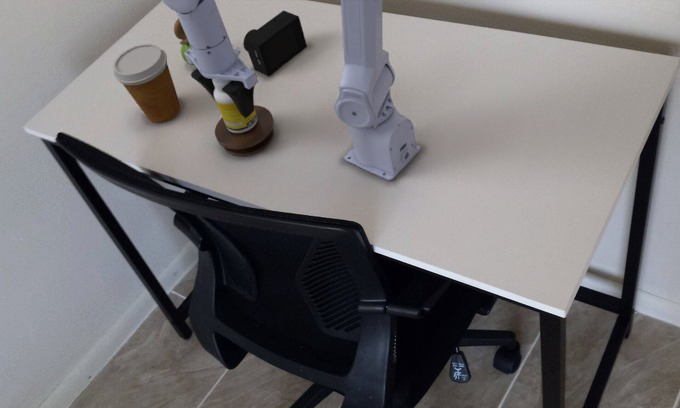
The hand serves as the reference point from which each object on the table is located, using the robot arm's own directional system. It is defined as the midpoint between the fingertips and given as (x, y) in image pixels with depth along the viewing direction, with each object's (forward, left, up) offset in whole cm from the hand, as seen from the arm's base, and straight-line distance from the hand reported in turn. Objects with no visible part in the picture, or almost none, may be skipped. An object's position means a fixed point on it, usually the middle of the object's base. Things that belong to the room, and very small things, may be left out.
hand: (236, 107), depth 110 cm
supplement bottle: (0, 0, -4) cm, 4 cm away
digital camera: (+11, -19, -7) cm, 23 cm away
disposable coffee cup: (+20, +3, -7) cm, 21 cm away
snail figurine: (+25, -11, -7) cm, 28 cm away
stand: (0, 0, -7) cm, 7 cm away
